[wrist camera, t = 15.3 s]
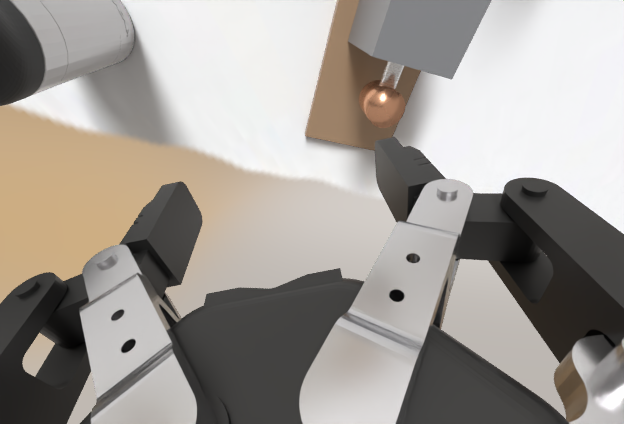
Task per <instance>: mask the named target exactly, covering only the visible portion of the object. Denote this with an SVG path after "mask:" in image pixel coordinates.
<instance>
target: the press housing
mask: <svg viewBox="0 0 624 424" xmlns="http://www.w3.org/2000/svg"><path fill="white" fill-rule="evenodd" d="M490 2H491V0H337V3H336V7H335V11H334V16H333V20H332V24H331V28H330V32H329V36H328V40H327V44H326V48H325V53H324V57H323V61H322V65H321V69H320V73H319V77H318V81H317V85H316V90H315V94H314V98H313V102H312V106H311V110H310V114H309V118H308V123H307V127H306V131H305V136H308V137H312V138H317V139H322V140H327V141H331V142H336V143H341V144H346V145H350V146H355V147H360V148H365V149H369V150H374V151H375V141H377V140H382V139H386V138H391V137H392V136H393V134H394V132H395V129H396V127H397V125H398V122H399V121H398V122H397V123H396V124H394V125H393V126H391V127H387V128H379V127H376V126H375V125H373V124H372V123H371V121H370V120H369V119H368V117H367V116H366V115H365V113H364V112H363V110H362V109H361V107H360V105H359V95H360V92H361V90H362V89H363V87H364V86H365V85H366V84H368V83H369V82H371V81H374V80H381V78H382V75H383V72H384V69H385V67H386V64H387V61H389V62H393V63H396V64H400V65H403V66H404V68H403V70H402V73H401V75H400V78H399V81H398V83H397V86H396V88H395V90H396V91H398V92H399V93H400V94H401V95H402V96H403V98H404V101H405V106H406V104H407V101H408V99H409V97H410V95H411V92H412V90H413V88H414V85H415V83H416V81H417V78H418V76H419V74H420V71H424V72H428V73H431V74H435V75H438V76H442V77H445V78H449V79H452V78H453V76H454V74H455V72H456V70H457V68H458V66H459V64H460V62H461V60H462V58H463V56H464V54H465V52H466V50H467V48H468V46H469V44H470V42H471V40H472V38H473V36H474V34H475V32H476V30H477V28H478V26H479V24H480V22H481V20H482V18H483V16H484V14H485V12H486V10H487V8H488V6H489V4H490Z"/></svg>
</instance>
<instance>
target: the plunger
mask: <svg viewBox="0 0 624 424" xmlns="http://www.w3.org/2000/svg"><path fill="white" fill-rule="evenodd" d="M403 68H404V66H403V65H400V64H396V63H393V62H389V61H387V64H386V67H385V69H384V72H383V75H382V78H381V80H374V81H371V82H369V83H368V84H366V85H365V86H364V87H363V89H362V90H361V92H360V95H359V105H360V107H361V109H362V110H363V112H364V113H365V115H366V116H367V117H368V119H369V120H370V121H371V123H372V124H373V125H375V126H376V127H379V128H387V127H391V126H393V125H394V124H396V123H397V122H398V121H399V120H400V119H401V117H402V116H403V113H404V110H405V101H404V98H403V96H402V95H401V94H400V93H399V92H398V91H396V90H395V88H396V86H397V83H398V81H399V78H400V75H401V73H402V70H403Z"/></svg>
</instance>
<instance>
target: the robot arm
mask: <svg viewBox="0 0 624 424" xmlns="http://www.w3.org/2000/svg"><path fill="white" fill-rule="evenodd" d="M133 45H134V29H133V24H132V21H131V18H130V16H129V14H128V12H127V10H126V8H125V7H124V5H123V4H122V2H121V1H120V0H0V106H2V105H6V104H10V103H13V102H16V101H19V100H21V99H24V98H26V97H29V96H31V95H34V94H36V93H39V92H41V91H44V90H47V89H49V88H52V87H54V86H57V85H59V84H62V83H65V82H67V81H70V80H73V79H76V78H78V77H81V76H84V75H86V74H89V73H92V72H94V71H97V70H100V69H102V68H105V67H108V66H111V65H113V64H116V63H118V62H120V61H122V60H124V59H126V57H127V56H128V55H129V54H130V53H131V51H132V49H133ZM375 163H376V178H377V183H378V187H379V189H380V191H381V193H382V195H383V197H384V199H385V201H386V203H387V205H388V206H389V208H390V210H391V212H392V214H393V216H394V218H395V220H396V222H397V224H396V225H395V227H394V229H393V231H392V233H391V235H390V237H389V238H388V240H387V242H386V244H385V246H384V247H383V249H382V251H381V253H380V255H379V257H378V258H377V260H376V262H375V264H374V266H373V267H372V269H371V271H370V273H369V275H368V277H367V279H366V281H365V282H364V281H360V280H355V279H346V278H342V275H341V271H340V268H339V269H334V270H328V271H323V272H318V273H313V274H307V275H305V276H302V277H300V278H297V279H295V280H293V281H290V282H288V283H285V284H283V285H281V286H278V287H276V288H272V289H263V288H262V289H261V288H235V289H230V290H225V291H220V292H214V293H209V294H207V295H206V299H205V303H204V306H202V307H200V308H198V309H196V310H194V311H192V312H191V313H189V314H187V315H186V316H185V317H183V318H181V316H180V315H179V313H178V311H177V310H176V308H175V306H174V305H173V303H172V301H171V299H170V298H169V296H168V295H167V294H166V293H165V290H166V288H167V287H171V286H176V285H181V283H182V280H183V277H184V274H185V271H186V269H187V266H188V263H189V260H190V257H191V254H192V251H193V249H194V245H195V243H196V240H197V237H198V234H199V232H200V229H201V226H202V215H201V212H200V210H199V208H198V206H197V205H196V203H195V201H194V199H193V197H192V195H191V194H190V192H189V190H188V188H187V186H186V185H185V184H184V183H183V182H176V183H172V184H167V185H163V186H162V187H161V188H160V190H159V191H158V193H157V194H156V196H155V197H154V199H153V200H152V201H151V202H150V203H148V204H147V205H146V206H145V207H144V208H143V209H142V211H141V213H140V214H139V215H138V218H136V220H135V221H134V225H132V226H131V227H130V229H129V231H128V232H127V234H126V235H125V237H124V238H123V240H122V241H121V243H120V244H119V245H115V246H111V247H109V248H107V249H104V250H103V251H101V252H99V253H98V254H96V255H95V256H93V257H92V258H91V259H90V260H89V261H88V262H87V263H86V265H85V266H84V268H83V271H82V274H80V275H78V276H76V277H73V278H70V279H68V280H66V281H62V280H61V279H60V278H59V277H57V276H56V275H55V274H54V273H50V272H49V273H43V274H39V275H37V276H34V277H32V278H30V279H28V280H27V281H25V282H23V283H22V284H21V285H19V286H18V287H16V288H15V289H14V290H13V291H12V292H11V293H10V294H9V295H8V296H7V297H6V298H5V299H4V300H3V301H2V303H1V304H0V424H67V422H68V419H69V417H70V415H71V413H72V411H73V408H74V406H75V404H76V402H77V399H78V398H79V396H80V393H81V391H82V389H83V387H84V385H85V383H86V380H87V378H88V376H89V374H90V372H92V377H93V382H94V387H95V392H96V397H97V403H96V405H95V406H94V408H93V409H92V412H90V413H89V414H88V416H87V417H86V418H85V419H84V420H83V421H82V422H81V423H80V424H624V234H623V233H621V232H620V231H618V230H617V229H616V228H614V227H613V226H612V225H610V224H609V223H608V222H606V221H605V220H604V219H602V218H601V217H600V216H598V215H597V214H596V213H594V212H593V211H592V210H590V209H589V208H588V207H586V206H585V205H584V204H582V203H581V202H580V201H578V200H577V199H576V198H574V197H573V196H572V195H570V194H569V193H568V192H566V191H565V190H564V189H562V188H561V187H559V186H558V185H556V184H554V183H552V182H549V181H546V180H542V179H537V178H518V179H514V180H511V181H509V182H508V183H507V184H506V185H505V187H504V191H503V194H479V193H473V190H472V189H471V187H470V186H468V185H467V184H465V183H463V182H461V181H457V180H452V179H446V178H445V177H444V176H443V175H442V174H441V173H440V172H439V171H438V170H437V169H436V168H435V166H434V165H433V164H431V162H430V161H429V160H428V159H427V158H426V157H425V156H424V155H423V153H422V152H421V151H420V150H417V149H415V148H413V147H411V146H407V147H403V146H402V145H401V144H400V143H399V142H398V140H397V139H396V138H395V137H391V138H386V139H382V140H377V141H375ZM545 254H546V255H547V256H546V255H545ZM460 259H474V260H488V261H489V263H490V264H491V265H492V267H493V268H494V270H495V271H496V272H497V274H498V275H499V277H500V278H501V280H502V281H503V283H504V284H505V285H506V287H507V288H508V290H509V291H510V293H511V294H512V295H513V297H514V298H515V300H516V301H517V303H518V304H519V305H520V307H521V308H522V310H523V311H524V312H525V314H526V315H527V317H528V318H529V320H530V321H531V323H532V324H533V326H534V327H535V328H536V330H537V331H538V333H539V334H540V335H541V337H542V338H543V340H544V341H545V343H546V344H547V345H548V347H549V348H550V350H551V351H552V353H553V354H554V356H555V357H556V358H557V360H558V361H559V363H560V364H559V366H558V367H557V368H556V371H555V373H554V383H555V387H556V390H557V392H558V394H559V396H560V398H561V400H562V402H563V405H564V408H565V412H566V419H565V418H564V417H563V416H562V415H561V414H560V413H559V412H558V411H557V410H555V409H554V408H553V407H552V406H551V405H550V404H548V403H547V402H546V401H544V400H543V399H542V398H540V397H539V396H538V395H536V394H535V393H533V392H532V391H530V390H529V389H527V388H526V387H525V386H523V385H522V384H520V383H519V382H517V381H516V380H514V379H513V378H511V377H510V376H508V375H507V374H505V373H504V372H502V371H501V370H500V369H498V368H497V367H495V366H494V365H492V364H491V363H489V362H488V361H486V360H485V359H483V358H482V357H481V356H479V355H478V354H476V353H475V352H473V351H472V350H470V349H469V348H467V347H466V346H464V345H463V344H461V343H460V342H458V341H457V340H455V339H454V338H453V337H451V336H450V335H448V334H447V333H445V332H444V331H442V330H441V327H442V323H443V319H444V315H445V311H446V307H447V303H448V299H449V296H450V292H451V289H452V286H453V282H454V279H455V275H456V272H457V268H458V265H459V261H460ZM39 332H40V333H41V334H42V335H44V336H45V337H47V338H48V339H50V340H52V341H53V342H54V343H55V345H54V347H53V348H52V350H51V351H50V353H49V355H48V356H47V358H46V360H45V361H44V363H43V365H42V367H41V368H40V370H39V371H38V373H37V375H36V377H34V376H32V375H30V374H28V373H27V372H25V370H24V369H23V365H22V361H23V357H24V355H25V353H26V351H27V350H28V349H29V347H30V346H31V344H32V343H33V341H34V340H35V338H36V337H37V335H38V334H39Z"/></svg>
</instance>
